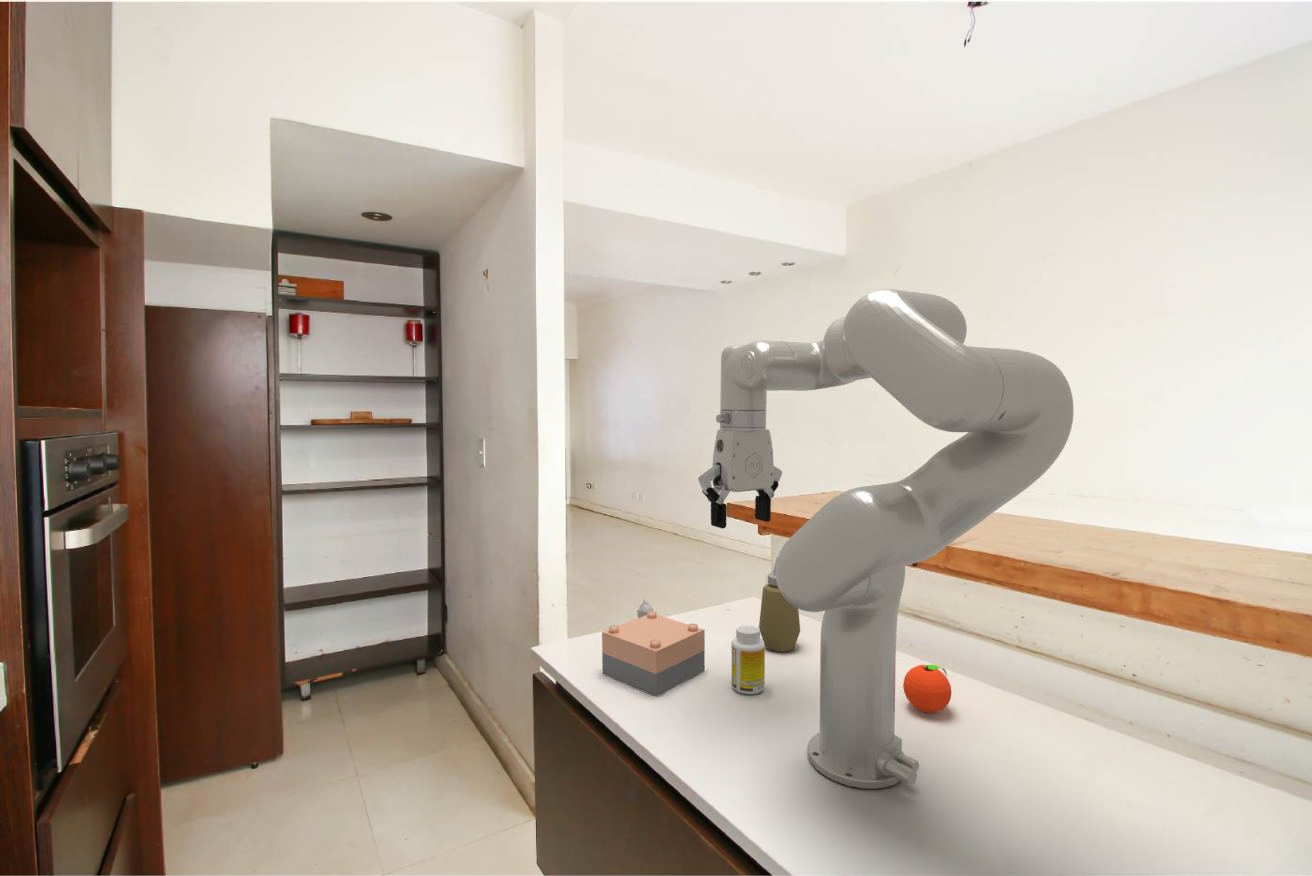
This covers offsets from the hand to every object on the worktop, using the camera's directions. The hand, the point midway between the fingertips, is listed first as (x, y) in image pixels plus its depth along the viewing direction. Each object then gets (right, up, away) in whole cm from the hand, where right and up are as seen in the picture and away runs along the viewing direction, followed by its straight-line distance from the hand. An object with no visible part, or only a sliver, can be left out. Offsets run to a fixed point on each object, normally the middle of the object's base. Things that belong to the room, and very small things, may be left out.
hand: (741, 523), depth 102 cm
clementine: (+29, -29, -6) cm, 41 cm away
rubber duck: (-16, -27, +25) cm, 40 cm away
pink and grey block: (-15, -28, +8) cm, 32 cm away
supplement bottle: (+1, -28, +1) cm, 28 cm away
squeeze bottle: (+10, -27, +19) cm, 35 cm away
